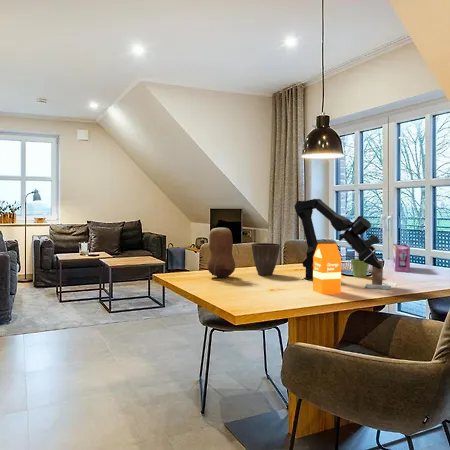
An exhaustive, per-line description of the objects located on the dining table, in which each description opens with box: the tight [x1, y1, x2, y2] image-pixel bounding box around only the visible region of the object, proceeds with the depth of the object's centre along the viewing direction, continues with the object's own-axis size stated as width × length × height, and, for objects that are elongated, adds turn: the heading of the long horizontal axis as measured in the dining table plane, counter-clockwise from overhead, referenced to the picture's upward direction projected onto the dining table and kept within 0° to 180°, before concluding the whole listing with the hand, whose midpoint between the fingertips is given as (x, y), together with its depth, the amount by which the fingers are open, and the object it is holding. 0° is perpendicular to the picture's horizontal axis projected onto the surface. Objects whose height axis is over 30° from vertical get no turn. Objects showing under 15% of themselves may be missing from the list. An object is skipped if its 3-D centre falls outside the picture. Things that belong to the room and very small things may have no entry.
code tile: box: [382, 281, 397, 287], centre depth 201 cm, size 9×9×1 cm
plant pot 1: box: [251, 242, 281, 277], centre depth 229 cm, size 15×15×16 cm
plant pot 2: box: [350, 258, 369, 279], centre depth 222 cm, size 9×9×9 cm
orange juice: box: [312, 243, 342, 295], centre depth 183 cm, size 8×9×20 cm
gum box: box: [391, 243, 411, 273], centre depth 252 cm, size 24×8×14 cm, turn 163°
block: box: [371, 259, 384, 285], centre depth 192 cm, size 4×5×10 cm
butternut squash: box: [207, 227, 236, 279], centre depth 219 cm, size 14×13×25 cm
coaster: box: [364, 283, 391, 291], centre depth 192 cm, size 10×10×1 cm
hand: (380, 267), depth 192 cm, fingers closed on block, 5 cm apart
